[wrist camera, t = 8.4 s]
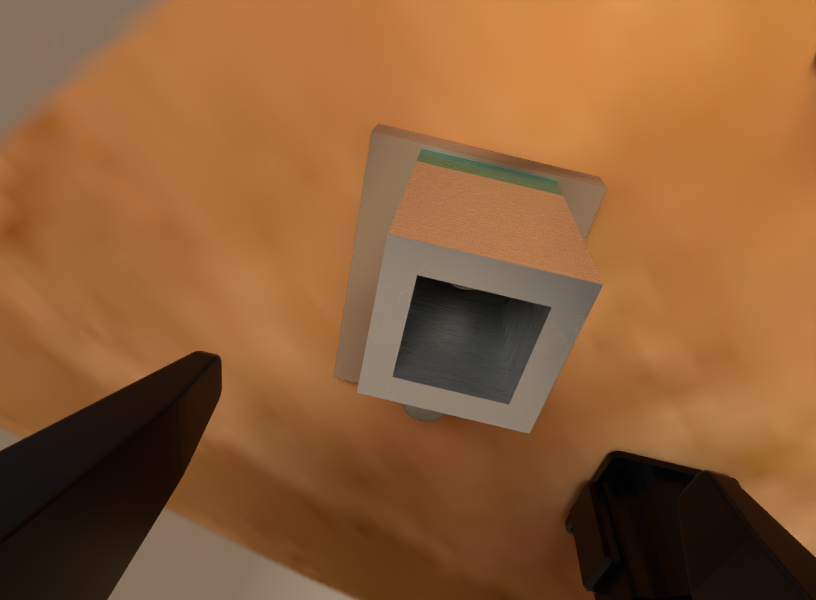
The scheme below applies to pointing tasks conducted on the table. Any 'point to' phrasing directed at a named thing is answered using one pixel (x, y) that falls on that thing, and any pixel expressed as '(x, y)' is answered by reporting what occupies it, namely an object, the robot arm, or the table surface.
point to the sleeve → (477, 293)
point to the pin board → (378, 207)
